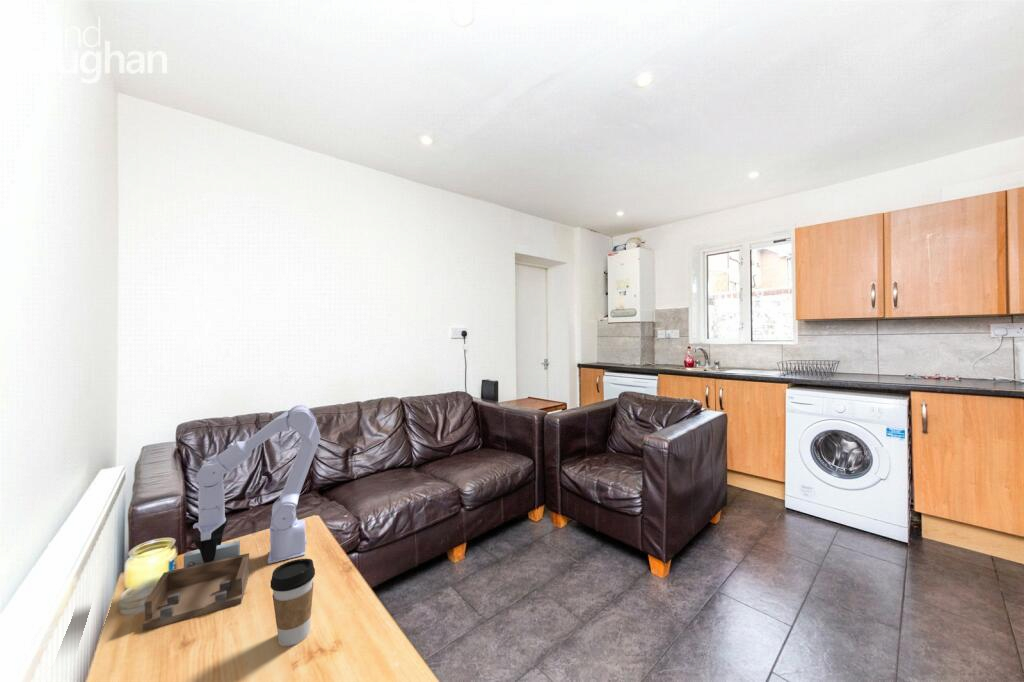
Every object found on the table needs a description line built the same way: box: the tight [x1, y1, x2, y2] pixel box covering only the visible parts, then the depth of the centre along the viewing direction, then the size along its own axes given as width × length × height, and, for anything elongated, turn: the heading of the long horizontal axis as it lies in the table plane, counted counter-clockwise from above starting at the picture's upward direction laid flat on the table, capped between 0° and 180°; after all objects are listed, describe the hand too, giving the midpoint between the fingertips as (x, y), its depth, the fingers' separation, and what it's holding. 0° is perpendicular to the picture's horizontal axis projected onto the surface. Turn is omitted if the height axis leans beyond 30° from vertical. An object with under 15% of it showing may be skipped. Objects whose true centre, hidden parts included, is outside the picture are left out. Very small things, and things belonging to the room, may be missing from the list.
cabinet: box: [142, 552, 251, 632], centre depth 95 cm, size 18×14×6 cm
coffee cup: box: [270, 558, 316, 647], centre depth 82 cm, size 8×8×15 cm
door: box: [183, 540, 241, 568], centre depth 105 cm, size 12×3×7 cm, turn 118°
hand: (212, 554), depth 105 cm, fingers open, 7 cm apart
